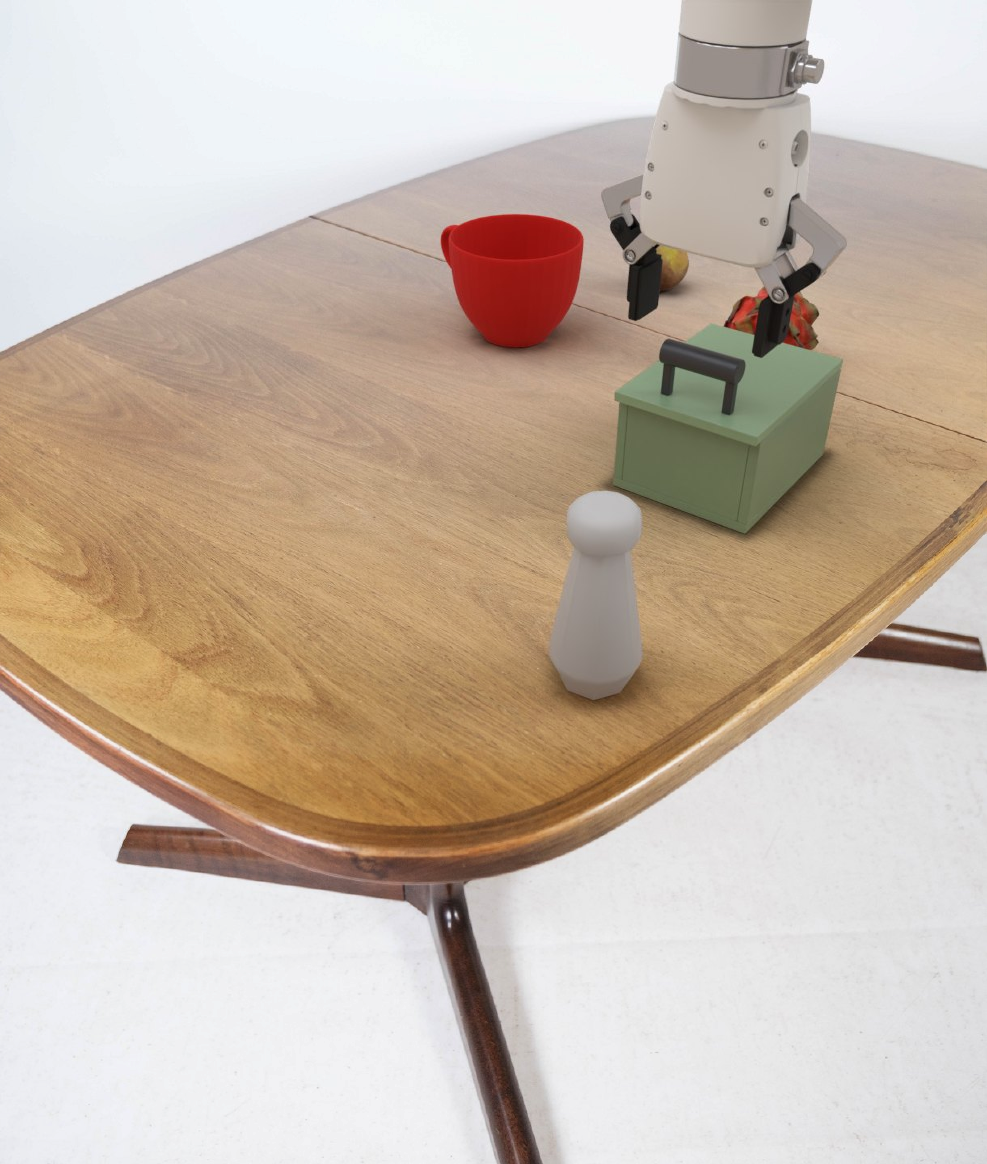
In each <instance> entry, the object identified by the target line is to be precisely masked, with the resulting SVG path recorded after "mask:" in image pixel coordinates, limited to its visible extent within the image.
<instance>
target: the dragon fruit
mask: <svg viewBox="0 0 987 1164" xmlns="http://www.w3.org/2000/svg"><path fill="white" fill-rule="evenodd" d="M767 296H768V293H767V291H766V289H765V287H764V286H762V287H761V288H760V289H759V290H758V292H757V295H756V296H751V295H745V296H743V297H741V298H740V299H738V300H737V301H736V302H735V303H734V304H733V306H732V310H731V312H730V314H729V316H728V317H727V320H725V322H724V323H723V325H722V326H723V327H727V328H730V329H734V330H738V331H741V332H745V333H749V334H752V335H755V329H756V323H757V317H758V311H759V305H760V302H761V301H762V300H763V299H764V298H766V297H767ZM819 316H820V311H819V310H818V307H817V306H816V305H815V304H814V303H812V302H810V301H809V300H808V299H807V298H805V297H804V295H803V294H802V291H800V292H798V293H797V294H795V296H794V302H793V307H792V313H791V318H790V323H789V329H788V333H787V336H786V339H785V340H784V342H783V343H785V344H789V345H793V346H796V347H800V348H804V349H807V350H811V351H814V349H816V348H817V346H818V345H819V343H820V342H819V340H818V336H819V335H818V334H817V333H816V332H815V330H814V327H813V324H814V323H815V321H817V319H818V318H819Z"/></svg>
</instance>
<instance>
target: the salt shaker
mask: <svg viewBox="0 0 987 1164" xmlns="http://www.w3.org/2000/svg"><path fill="white" fill-rule="evenodd" d="M642 516H643V515H642V508H641V507H639V506H638V504H637V503H636V502H635V501H634V500H633V499H631V498H630V497H629V496H627V495H624V494H622V493H620V492H617V491H610V490H595V491H594V490H593V491H590V492H587V493H585V494H581V495H580V496H578V497H577V498H576V499H575V500H574V501H573V502H572V503H571V504H570V505H569V506H568V509H567V513H566V536H567V539H568V541H569V542H570V544H572V546H573V548H572V552H571V555H570V559H569V564H568V567H567V571H566V575H565V578H564V582H563V586H562V590H561V594H560V597H559V602H558V606H557V610H556V614H555V618H554V621H553V626H552V628H551V632H550V636H549V645H548V646H549V647H548V649H549V650H548V656H549V661H550V663H552V665H553V666H554V668H555V669H556V671H557V672H558V675H559V676H560V679H561V680H562V683H563V684H564V685H563V686H564V687H565V690H566V691H568V692H569V693H573V694H575V695H578V696H581V697H584V698H586V699H589V700H592V701H596V700H599V699H600V700H601V699H603V698H606V697H610V696H614V695H617V694H620V693H621V692H622V691H623V689H624V688H625V687H626V686H627V684H628V683H629V681H630V680H631V679H632V677H633V676H634V674H635V673H636V672H637V669H639V667H640V665H641V663H642V660H643V639H642V631H641V622H640V615H639V605H638V599H637V598H638V597H637V589H636V582H635V575H634V574H635V573H634V565H633V558H632V551H633V550H634V548H635V547H636V546H637V545H638V543H639V541H640V540H641V538H642V532H643V517H642Z"/></svg>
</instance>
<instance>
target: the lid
mask: <svg viewBox="0 0 987 1164" xmlns="http://www.w3.org/2000/svg"><path fill="white" fill-rule="evenodd" d="M723 326H724V325H719V324H715V323H709V324H708V325H707V326H705V327H703V328H702V329H701V330H700V331H698V332H697V333H695V334H694V335H693V336H691V337H690V338H688V339H687V340H685V341H684V342H683V341H680V340H675V339H673V338H666V339H664V341H663V342H662V344H661V346H660V349H659V352H658V360H657V361H656V362H655V363H653V364H651V365H650V366H649V367H647V368H646V369H644V370H643V371H642V372H640V373H638V375H636V376H634V377H633V378H632V379H630V380H629V381H627V382H626V383H625V384H623V385H622V386H621V387H619V388H618V389H616V390H615V391H614V398H613V400H614V401H615V402H617V403H619V402H620V403H623V404H626V405H629V406H632V407H636V408H639V409H642V410H645V411H648V412H651V413H654V414H657V415H660V416H663V417H666V418H669V419H672V420H675V421H679V422H682V423H685V424H688V425H691V426H694V427H697V428H700V429H703V430H706V431H709V432H712V433H715V434H718V435H721V436H725V437H728V438H731V439H734V440H737V441H740V442H743V443H746V444H749V445H752V446H757V445H758V444H759V443H760V442H761V441H762V440H763V439H764V438H765V437H767V436H768V435H769V434H770V433H771V432H772V431H773V430H774V429H775V428H776V427H777V426H779V425H780V424H781V423H782V422H783V421H784V420H785V419H786V418H787V417H788V416H790V415H791V414H792V413H793V412H794V411H795V410H796V409H797V408H798V407H799V406H800V405H802V404H803V403H804V402H805V401H806V400H807V399H808V398H809V397H810V396H811V395H812V394H814V393H815V392H816V391H817V390H818V389H819V388H820V387H821V386H822V385H823V384H824V383H826V382H827V381H828V380H829V379H830V378H831V377H832V376H833V375H834V374H835V373H836V372H838V371H839V370H840V369H841V370H842V367H843V362H844V359H843V358H840V357H836V356H833V355H829V354H825V353H821V352H818V351H814V350H807V349H804V348H800V347H796V346H793V345H789V344H785V343H781V344H780V345H777V346H776V347H775V348H774V349H772V350H771V351H770V352H769V353H768V354H766V355H765V356H764V357H763V358H759V357H756V356H754V354H753V353H752V347H753V341H754V335H752V334H749V333H745V332H741V331H738V330H734V329H730V328H727V327H723Z"/></svg>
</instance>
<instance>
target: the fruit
mask: <svg viewBox="0 0 987 1164" xmlns="http://www.w3.org/2000/svg"><path fill="white" fill-rule="evenodd" d="M657 254H660V255H662V257H661V259H662V260H663V264H662V273H661V283H660V292H665V291H670V290H672V289H674V288H675V287H677V286H678V285H679V284H680V283H682V281H683V280H684V278H685V277H686V275H687V273H688V270H689V267H690V259H689V255H688V253H687V252H683V251H680V250H676V249H672V248H668V247H665V246H660V247H659V248H658V249H657Z"/></svg>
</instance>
